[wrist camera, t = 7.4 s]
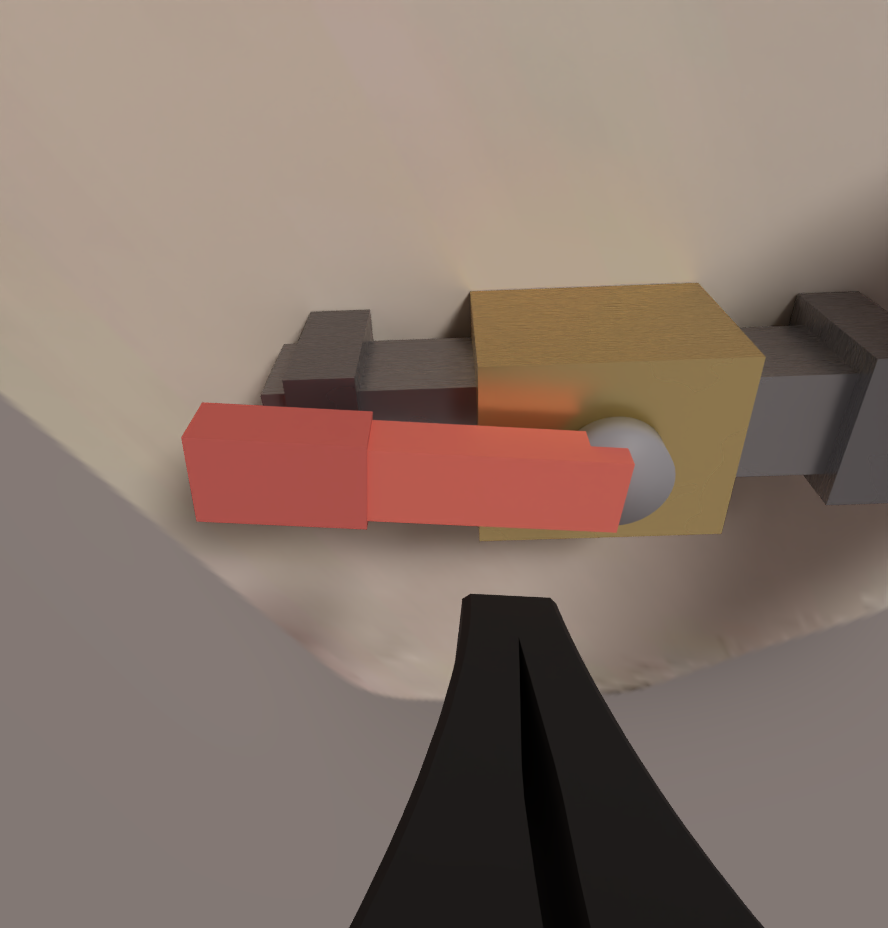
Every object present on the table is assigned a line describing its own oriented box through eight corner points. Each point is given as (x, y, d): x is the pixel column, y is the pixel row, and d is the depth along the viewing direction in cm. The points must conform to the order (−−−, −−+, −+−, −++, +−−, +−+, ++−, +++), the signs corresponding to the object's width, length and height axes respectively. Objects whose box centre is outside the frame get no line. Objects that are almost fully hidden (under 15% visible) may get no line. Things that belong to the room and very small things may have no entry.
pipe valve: (890, 275, 18) (1015, 352, 14) (837, 431, 20) (930, 532, 17) (282, 298, 18) (239, 379, 14) (309, 449, 21) (278, 552, 17)
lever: (677, 419, 15) (698, 457, 13) (651, 506, 16) (669, 548, 15) (203, 394, 14) (180, 430, 13) (216, 485, 16) (197, 526, 14)
